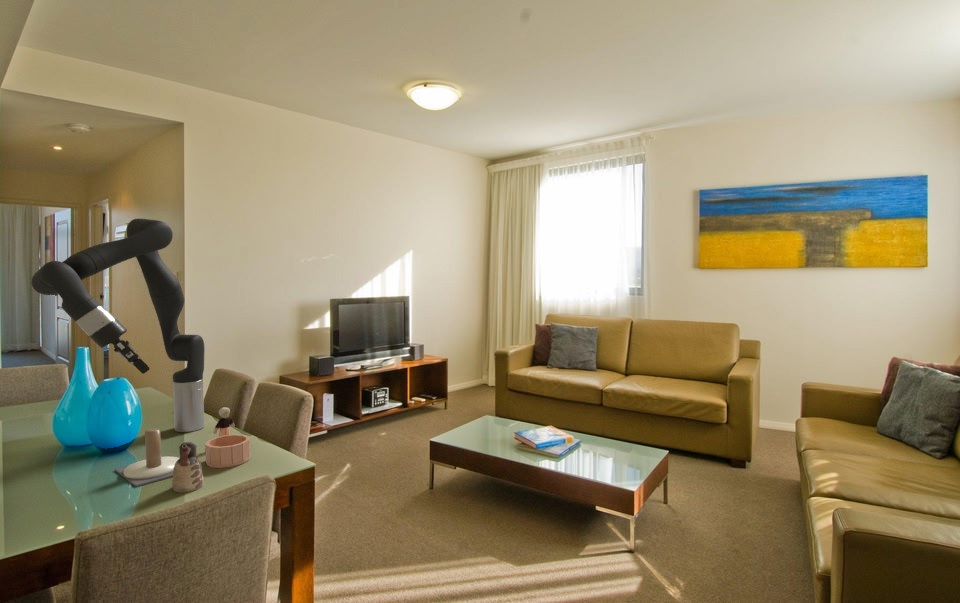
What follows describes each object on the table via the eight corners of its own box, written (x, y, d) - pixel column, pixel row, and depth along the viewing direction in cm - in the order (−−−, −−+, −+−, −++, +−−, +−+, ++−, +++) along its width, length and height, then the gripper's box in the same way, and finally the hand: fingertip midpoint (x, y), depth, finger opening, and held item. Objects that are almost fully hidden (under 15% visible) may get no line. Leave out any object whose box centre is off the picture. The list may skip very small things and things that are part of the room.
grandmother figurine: (222, 450, 162) (221, 410, 161) (211, 450, 163) (210, 410, 162) (238, 442, 169) (237, 404, 169) (228, 441, 170) (227, 403, 169)
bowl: (199, 461, 153) (198, 441, 153) (238, 450, 162) (238, 431, 162) (217, 471, 146) (216, 450, 145) (257, 459, 155) (256, 440, 154)
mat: (115, 470, 146) (114, 468, 146) (169, 456, 157) (169, 455, 157) (135, 487, 135) (135, 485, 135) (193, 471, 146) (193, 469, 146)
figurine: (208, 480, 139) (206, 437, 139) (197, 492, 132) (195, 446, 132) (180, 482, 139) (178, 437, 138) (167, 493, 132) (165, 447, 131)
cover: (116, 470, 145) (114, 431, 144) (171, 456, 156) (170, 420, 155) (133, 483, 136) (132, 442, 135) (191, 468, 147) (189, 429, 146)
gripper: (114, 317, 137) (159, 362, 142) (115, 318, 149) (157, 360, 154) (86, 335, 133) (134, 381, 139) (89, 335, 145) (133, 378, 150)
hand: (146, 370), depth 146 cm, fingers open, 8 cm apart
